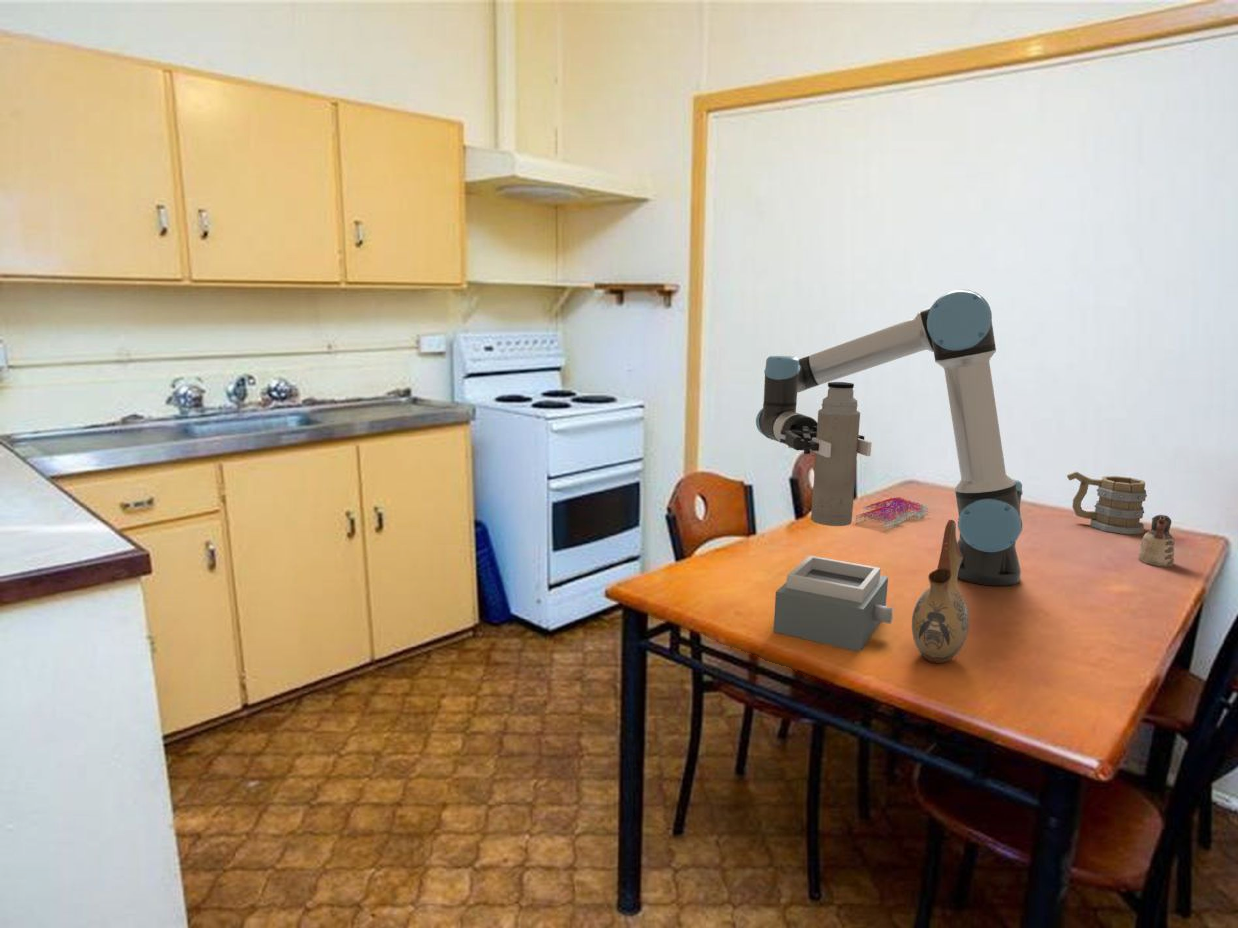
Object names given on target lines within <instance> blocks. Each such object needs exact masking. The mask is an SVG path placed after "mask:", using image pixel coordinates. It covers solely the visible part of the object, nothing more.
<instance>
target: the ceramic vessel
mask: <svg viewBox="0 0 1238 928" xmlns="http://www.w3.org/2000/svg"><path fill="white" fill-rule="evenodd" d="M944 528H945V529H944V532H943V537H942V544H941V550H940V553H939V559H938V564H937V568H936V570H933V571H931V572H930V573H929V574H928V575H927V576H928V582H929V586H930V587H929V588H928V589H926V590H925V591H924V592H923V593H922V594H921V596H920V597H919V598H918V600H917V601H916V603H915V606H914V609H913V612H912V617H911V634H912V639H913V641H914V645H915V646H916V648H917V650H918V652H919V653H920V654H921V655H922V657H923V658H925V660H927V661H928V662H932V663H936V664H941V663H942V664H943V663H947V662H948V661H950V660H952V659H953V658H955V657H956V656H957V655H958V654H959V653H960V651H961V650H962V648H963V647H964V644H965V642H966V640H967V637H968V633H969V626H970V617H969V610H968V607H967V604H966V602H965V599H964V597H963V596H962V594H961V593H960V591H959V587H958V586H959V585H958V578H957V576H958V571H959V567H960V564H961V562H962V559H963V556H962V554H961V551H960V549H959V547H958V544H957V543H958V540H957V532H956V530H957V525H956V521H955V520H953V519H949V520H947V523H946V525H945V527H944Z"/></svg>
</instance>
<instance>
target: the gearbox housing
mask: <svg viewBox="0 0 1238 928" xmlns="http://www.w3.org/2000/svg"><path fill="white" fill-rule="evenodd" d="M888 583H889V576H885V575H882V574H881V567H876V566H872V565H865V564H861V563H854V562H850V561H849V562H848V561H843V560H837V559H832V558H826V557H821V556H820V557H819V556H815V555H808V556H807V557H806V558H805V559H804V560H803V561H802V562H800V563H799V564H798V565H797V566H795V568H794V569H793V570H792V571H790V572H789V573H788V574H787V575H786V582H785V583H784V584H783V585H782V586H781V587H779V588H778V589H777V590H776V591H775V599H774V614H773V615H774V620H773V632H774V633H776V634H780V635H785V636H789V637H794V638H798V639H802V640H807V641H811V642H816V643H819V644H825V645H828V646H832V647H836V648H837V647H838V648H842V649H846V650H849V651H854V652H859V653H861V651H862V650H863V648H864V647H865V645H866V644H867V643H868V641H869V639H870V638H871V636H872V635H873V633H874V632H875V630H876V629H877V628H878V626H879V624H880V623H885V624H889V625H891V624H892V621H893V619H894V618H893V617H894V607H891V606H887V596H888V595H887V594H888V585H889V584H888Z"/></svg>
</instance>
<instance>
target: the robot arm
mask: <svg viewBox="0 0 1238 928" xmlns="http://www.w3.org/2000/svg"><path fill="white" fill-rule="evenodd" d="M987 301H988V300H986V299H985V297H983V296H982V295H980V294H979V293H978V292H976V291H972V290H969V289H959V290H952V291H950V292H947V293H944V294H942V295H941V296H940V297H939V298H937V300H935V301H934V303H932V306H930V307H928V308H925V309H923V310H920V311H918V312H917V314H916V315H915V317H913V318H910V319H908V320H905V321H903V322H899V323H897V324H893V325H891V326H888V327H885V328H883V329H880V330H877V331H875V332H872V333H869V334H865V335H864V336H860V337H857V338H854V339H852V340H850V341H846V342H844V343H840V344H839V345H836V346H835V345H834V346H832V347H830V348H827V349H823V350H822V351H819V352H815V353H813V354H811V355H808V356H805V357H802V358H798V357H796V356H790V355H771V356H768V357H767V358H766V361H765V369H764V385H763V387H764V389H763V404H762V408H761V409H760V410H759V411H758V413H757V415H756V418H755V426H756V428H757V430H758V432H759V433H760V434H761V435H762V436H764V437H765V438H767V439H770V440H772V441H775V442H778V443H780V444H783V445H786V446H787V448H789V449H793V450H796V451H803V454H804V455H809V454H810V455H811V452H812V453H817V454H820V455H822V456H824V457H830V454H831V443H829V442H826V441H823V440H820V439H817V438H816V437H817V422H818V421H817V420H816V419H814V418H813V417H811V416H807V415H805V414H802V413H799V412H797V403H798V402H797V401H798V393H801V392H804V391H807V390H809V389H811V388H815V387H818V386H820V385H823V384H828V383H829V382H834V381H835V380H838V379H842V378H844V377H847V376H850V375H853V374H857V373H860V372H862V371H865V370H868V369H872V368H874V367H878V366H879V365H884V364H887V363H890V362H892V361H895V360H899V359H901V358H904V357H908V356H910V355H915V354H917V353H919V352H923V351H925V350H926V351H929V352H933V357H934V362H935V363H936V364H938V365H939V366H941V367H942V368H943V369H944V370H943V371H944V376H945V382H946V388H947V389H946V390H947V395H948V396H947V397H948V402H949V403H948V404H949V409H950V414H951V422H952V428H953V435H954V441H955V447H956V448H955V449H956V453H957V454H956V455H957V459H958V466H959V473H960V474H959V475H960V480H959V483H958V484H956V486H955V488H954V491H955V499H956V505H957V511H958V521H957V528H958V531H959V539H958V540H957V544H958V547H959V549H960V551H961V554H962V556H963V559H962V562H961V564H960V567H959V571H958V576H957V579H960V580H962V581H965V582H969V583H972V584H973V583H974V584H979V585H983V586H984V585H985V586H994V587H995V586H997V587H1005V586H1013V585H1016V584H1018V583H1020V581H1021V574H1022V571H1021V569H1022V568H1021V566H1020V562H1019V558H1018V553H1017V549H1016V542H1017V540H1018V539H1019V537H1020V535H1021V532H1022V530H1023V520H1022V517H1021V500H1022V495H1023V483H1022V482H1021V481H1019V479H1018V480H1017V479H1012V478H1011V477H1009V476H1008V475H1007V472H1006V466H1005V459H1004V452H1003V444H1002V437H1001V432H1000V425H999V419H998V411H997V410H998V409H997V406H996V405H997V404H996V403H997V402H996V399H995V391H994V385H993V377H992V370H991V365H990V363H991V362H990V360H991V358H992V357H993V356H994V354H995V353H996V352H997V348H996V340H995V334H994V333H995V332H994V327H993V321H992V319H993V317H992V310H991V307H990V305H989V302H987ZM871 452H872V442H871V441H868V440H865V436H864V435H860V434H859V435H858V448H857V454H860V455H863V456H865V457H871V456H872V454H871Z"/></svg>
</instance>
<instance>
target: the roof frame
mask: <svg viewBox="0 0 1238 928" xmlns="http://www.w3.org/2000/svg"><path fill="white" fill-rule="evenodd" d="M862 509H864V510H867V512H864V513H860V514H857V515H855V518H856V519H855V524H858V522H860V523H861V522H864V520H865V521H867V520H868V521H873V522H877V523H881V526H884V527H885V528H884V530H886V531H887V528H890V529H894V526H897V527H899V526H900V523H903V522H905V520H906V521H907V520H911V518H912V519H915V521H918V520H921V519H922V520H923V518H924V515H927V514H930V513H931V511H929V510H930V506H927V505H924V504H921V503H919V502H915V501H911V500H910V499H904V498H901V497H891V498H888V499H885V500H884V499H883V500H882V501H879V502H875V503H872V504H868V505H865V506H862ZM899 522H900V523H899Z"/></svg>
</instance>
